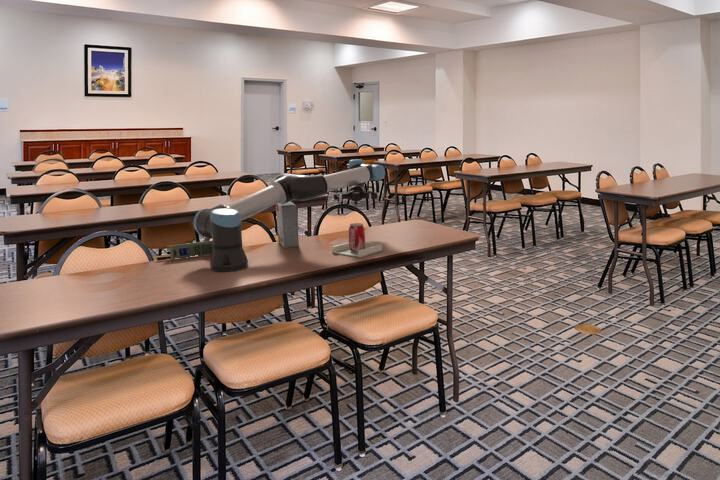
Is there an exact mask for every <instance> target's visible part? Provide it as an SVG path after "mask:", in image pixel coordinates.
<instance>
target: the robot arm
mask: <svg viewBox="0 0 720 480" xmlns="http://www.w3.org/2000/svg"><path fill="white" fill-rule="evenodd" d="M385 176H386V170H385V167H384V165H381V164H377V163H375V164H372V163H371V164H370V163H365V161H364V159H360V158H359V159H357V158H356V159H350V160H349V161H348V169H346V170H343V171H338V172H335V173H330V174H329V173H328V174H325V175H323V174H316V175H309V174H306V175H305V174H293V173H282V174H279V175H277V176H276V177H275V178H274V180H272V181H271V182H270V183H269V186H266V187H264V188H263V189H260V190H258V191H255V192H253V193H252V194H249V195H247V196H244V197H243V198H241V199H238V200H236V201H234V202H232V203H229V204H227V205H225V204H223V203H220V204H218V205H216V206H214V207H211V208H203V209H200V210H199V211H197V212H196V213H195V215H194V218H193V228H194V230H195V231H196V233H197V234H198V235H200V236H202V237H203V238H208V239H211V241H213V253H212V255H211V258H210V263H209V269H210V270H211V271H212V272H213V271H214V272H221V273H222V272H234V271H240V270H243V269H246V268H247V267H249V260H248V257H247V255H246V252H245V249H244V248H243V246H244V245H243V237H242V233H243V232H242V221H244V220H245V219H248V218H250V217H253V216H254V215H257V214H258V213H260V212H262V211H265V210H267V209H269V208H271V207H273V206H276V204H277V203H279V204H281V205H283V204H285V203H287V202H289V201H291V202H292V201H303V202H304V201H309V200H312V199H317V198H319V197H323V196H326V195H327V194H328V192H333V191H336V190H340V189H344V188H347V187H349V189H348V191H347V192H345V191H342V192H338V193H335V194H333V201H336V200H337V202H339V203H342V201H343V200H350V201H352V202H360V201H362V200H364V199H368V200H369V202H371V201H372V200H373V199H374V200H376V199H377V200H378V192H374V191H366V192H365V183H366V182H370V181H381V180H382V179H384V178H385Z"/></svg>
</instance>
